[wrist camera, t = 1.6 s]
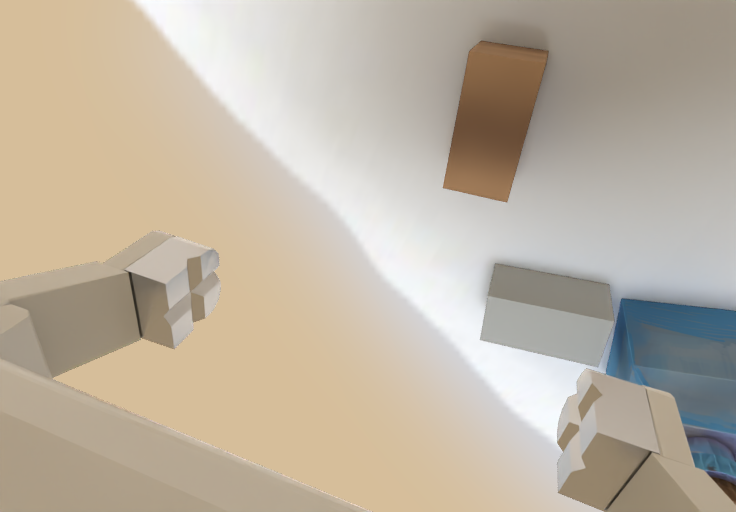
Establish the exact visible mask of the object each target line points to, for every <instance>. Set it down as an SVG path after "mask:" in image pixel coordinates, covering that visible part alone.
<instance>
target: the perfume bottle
mask: <svg viewBox="0 0 736 512" xmlns="http://www.w3.org/2000/svg"><path fill="white" fill-rule="evenodd" d="M606 374H607V375H610V376H613V377H616V378H619V379H622V380H626V381H629V382H632V383H635V384H638V385H644V386H647V387H651V388H654V389H658V390H661V391H664V392H668V393H670V394H671V395H672V396H673V397H674V398H675V401H676V405H677V408H678V411H679V415H680V418H681V421H682V425H683V428H684V431H685V435H686V438H687V442H688V445H689V448H690V452H691V455H692V458H693V462H694V465H695V467H696V468H699V469H702V470H704V471H705V472H706V473H707V474H708V475H709V476H710V477H711V478H712V480H713V481H714V482H715V483H716V484H717V485H718V486H719V487H720V488H721V489H722V491H723V492H724V493H725V494H726V495H727V496H728V497H729V498H730V499H731V500H732V502H733V503H734V504H735V505H736V311H732V310H723V309H714V308H705V307H695V306H686V305H677V304H668V303H659V302H650V301H640V300H631V299H621V304H620V309H619V313H618V318H617V323H616V327H615V332H614V337H613V342H612V346H611V351H610V356H609V360H608V365H607V370H606Z"/></svg>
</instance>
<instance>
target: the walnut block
mask: <svg viewBox="0 0 736 512" xmlns="http://www.w3.org/2000/svg"><path fill="white" fill-rule="evenodd" d="M547 56H548V51H546V50H539V49H533V48H526V47H519V46H512V45H506V44H499V43H492V42H486V41H480V42H479V43H478V44H477V45H476V46H475V47H474V48H472V49H471V50H470V51H469V55H468V60H467V65H466V71H465V76H464V81H463V86H462V91H461V96H460V102H459V107H458V112H457V117H456V122H455V127H454V133H453V138H452V143H451V148H450V153H449V158H448V164H447V169H446V174H445V179H444V184H443V188H446V189H450V190H454V191H459V192H463V193H468V194H472V195H476V196H481V197H485V198H490V199H494V200H498V201H503V202H507V201H508V197H509V194H510V190H511V187H512V183H513V180H514V176H515V172H516V169H517V165H518V162H519V158H520V155H521V151H522V148H523V144H524V140H525V137H526V133H527V130H528V126H529V123H530V119H531V116H532V112H533V108H534V105H535V101H536V98H537V94H538V91H539V87H540V84H541V80H542V76H543V73H544V69H545V66H546V62H547Z"/></svg>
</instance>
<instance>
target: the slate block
mask: <svg viewBox="0 0 736 512" xmlns="http://www.w3.org/2000/svg"><path fill="white" fill-rule="evenodd" d="M614 322H615V321H614V314H613V307H612V300H611V294H610V287H609V285H608V284H603V283H598V282H592V281H587V280H581V279H576V278H571V277H565V276H560V275H555V274H549V273H544V272H538V271H533V270H528V269H522V268H517V267H512V266H506V265H501V264H495V267H494V271H493V276H492V280H491V284H490V289H489V293H488V298H487V304H486V309H485V315H484V320H483V326H482V331H481V337H480V340H482V341H487V342H491V343H495V344H500V345H504V346H508V347H512V348H517V349H521V350H525V351H530V352H534V353H538V354H543V355H547V356H551V357H556V358H560V359H564V360H569V361H573V362H577V363H582V364H586V365H590V366H595V367H598V366H599V363H600V360H601V357H602V355H603V352H604V349H605V347H606V344H607V341H608V338H609V336H610V333H611V330H612V328H613V325H614Z"/></svg>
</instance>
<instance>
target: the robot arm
mask: <svg viewBox="0 0 736 512" xmlns="http://www.w3.org/2000/svg"><path fill="white" fill-rule="evenodd" d="M218 266H219V256H218V253H217V252H216V251H215V250H214V249H212V248H209V247H206V246H203V245H200V244H198V243H195V242H192V241H189V240H186V239H183V238H180V237H176V236H174V235H171V234H168V233H165V232H162V231H152V232H150V233H149V234H147V235H146V236H144V237H143V238H141V239H139V240H138V241H136V242H135V243H133V244H132V245H130V246H128V247H127V248H125V249H124V250H122V251H121V252H119V253H117V254H116V255H114V256H113V257H111V258H110V259H108V260H107V261H105V262H103V263H100V262H97V261H96V262H91V263H86V264H81V265H76V266H71V267H66V268H62V269H57V270H53V271H48V272H42V273H37V274H33V275H28V276H23V277H18V278H13V279H9V280H4V281H0V512H372V511H370V510H367V509H365V508H362V507H360V506H357V505H355V504H353V503H350V502H348V501H345V500H343V499H341V498H338V497H336V496H333V495H331V494H328V493H326V492H324V491H321V490H319V489H316V488H314V487H312V486H309V485H307V484H304V483H302V482H300V481H297V480H295V479H292V478H290V477H288V476H285V475H283V474H280V473H278V472H275V471H273V470H271V469H268V468H266V467H263V466H260V465H258V464H256V463H253V462H251V461H249V460H247V459H244V458H241V457H239V456H237V455H234V454H232V453H229V452H227V451H225V450H222V449H220V448H218V447H215V446H213V445H210V444H208V443H206V442H203V441H201V440H198V439H196V438H193V437H191V436H189V435H186V434H184V433H181V432H179V431H177V430H174V429H172V428H169V427H167V426H164V425H162V424H160V423H157V422H155V421H152V420H150V419H147V418H145V417H143V416H140V415H138V414H135V413H133V412H131V411H128V410H126V409H123V408H121V407H118V406H116V405H113V404H111V403H109V402H106V401H104V400H101V399H99V398H97V397H94V396H92V395H89V394H87V393H85V392H82V391H80V390H77V389H75V388H72V387H70V386H68V385H65V384H63V383H60V382H58V381H56V380H53V379H52V378H53V377H55V376H58V375H60V374H62V373H65V372H67V371H69V370H72V369H74V368H76V367H79V366H81V365H83V364H86V363H88V362H90V361H92V360H95V359H97V358H100V357H102V356H104V355H107V354H109V353H111V352H114V351H116V350H118V349H121V348H123V347H125V346H127V345H130V344H132V343H134V342H137V341H139V340H141V338H143V339H146V340H149V341H151V342H154V343H157V344H160V345H163V346H166V347H169V348H172V349H175V348H176V347H177V346H178V345H179V344H180V343H181V342H182V341H183V340H184V339H185V338H186V337H187V336H188V335H189V334H190V333H191V332H192V331H193V322H196V321H199V320H202V319H204V318H206V317H207V316H208V315H209V314H210V313H211V312H212V311H213V309H214V307H215V305H216V303H217V301H218V299H219V295H220V289H221V288H220V280H219V278H218V277H217V275H216V274H215V272H214V271H215V270H216V268H217V267H218ZM557 443H558V445H559V446H560V448H561V449H562V451H563V453H562V455H561V457H560V459H559V460H558V463H557V465H558V467H557V468H558V493H560V494H562V495H565V496H567V497H570V498H572V499H575V500H577V501H580V502H582V503H584V504H587V505H589V506H592V507H594V508H597V509H599V510H602V511H604V512H736V505H735V504H734V503H733V502H732V500H731V499H730V498H729V497H728V496H727V495H726V494H725V493H724V492H723V491H722V489H721V488H720V487H719V486H718V485H717V484H716V483H715V482H714V481H713V480H712V478H711V477H710V476H709V475H708V474H707V473H706V472H705V471H704V470H702V469H699V468H696V467H695V465H694V462H693V458H692V455H691V452H690V448H689V445H688V442H687V438H686V435H685V431H684V428H683V425H682V421H681V418H680V415H679V411H678V408H677V405H676V401H675V398H674V397H673V396H672V395H671V394H670V393H668V392H664V391H661V390H658V389H654V388H651V387H647V386H644V385H638V384H635V383H632V382H629V381H626V380H622V379H619V378H616V377H613V376H610V375H607V374H603V373H600V372H597V371H594V370H591V369H587V368H586V369H585V370H584V371H583V372H582V374H581V375H580V377H579V379H578V381H577V394H575V395H572V396H570V397H568V399H567V401H566V403H565V405H564V407H563V409H562V412H561V415H560V418H559V422H558V430H557Z"/></svg>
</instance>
